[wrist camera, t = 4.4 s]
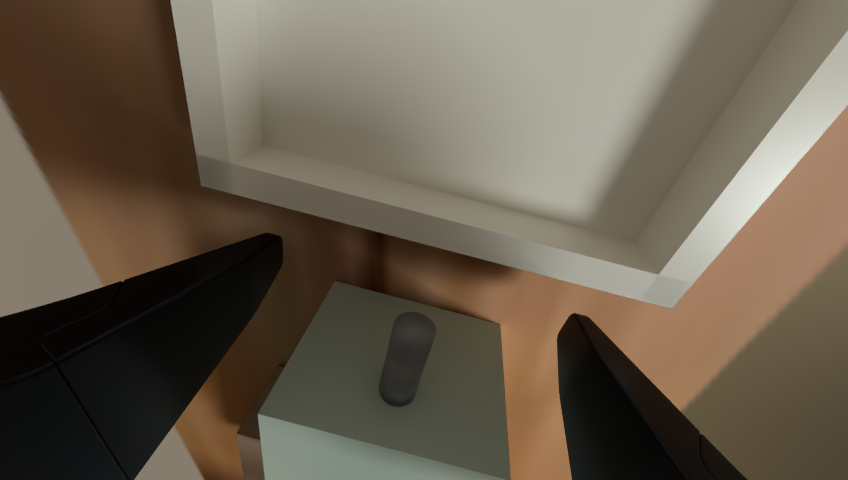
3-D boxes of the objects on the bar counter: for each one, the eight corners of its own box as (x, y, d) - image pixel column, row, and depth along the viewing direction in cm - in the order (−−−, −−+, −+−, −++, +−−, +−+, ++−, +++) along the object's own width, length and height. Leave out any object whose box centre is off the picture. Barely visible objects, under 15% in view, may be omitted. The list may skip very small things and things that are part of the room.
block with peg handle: (456, 412, 15) (446, 559, 11) (327, 378, 15) (268, 512, 11) (525, 269, 11) (554, 426, 6) (341, 221, 11) (250, 346, 6)
